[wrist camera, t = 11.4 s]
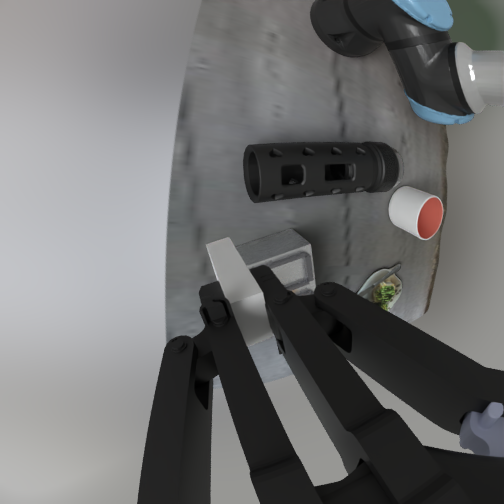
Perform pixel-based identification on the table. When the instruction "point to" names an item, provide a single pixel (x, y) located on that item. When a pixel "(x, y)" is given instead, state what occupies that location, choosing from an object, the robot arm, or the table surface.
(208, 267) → the table surface
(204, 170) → the table surface
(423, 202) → the cup
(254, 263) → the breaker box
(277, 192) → the muzzle brake
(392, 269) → the salad plate
